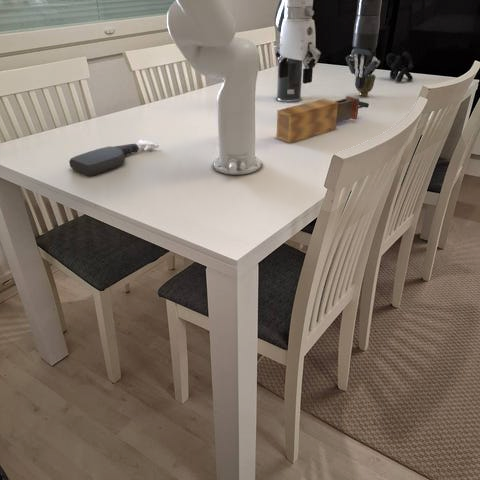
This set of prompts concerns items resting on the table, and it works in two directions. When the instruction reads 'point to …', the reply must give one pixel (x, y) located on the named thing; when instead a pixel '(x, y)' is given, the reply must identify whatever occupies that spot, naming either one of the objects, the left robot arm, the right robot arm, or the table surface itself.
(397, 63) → the squiggle
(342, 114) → the drawer
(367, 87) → the cup
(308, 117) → the cabinet
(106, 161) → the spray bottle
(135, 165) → the table surface
